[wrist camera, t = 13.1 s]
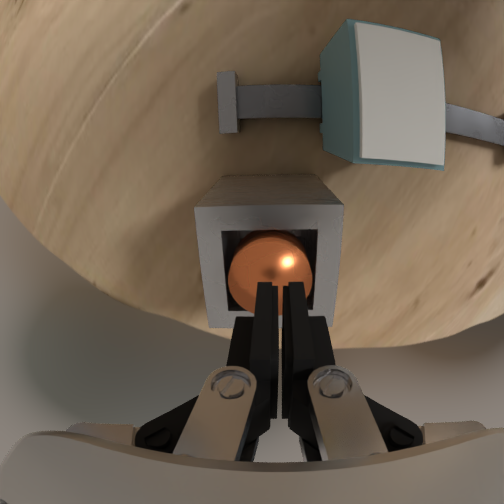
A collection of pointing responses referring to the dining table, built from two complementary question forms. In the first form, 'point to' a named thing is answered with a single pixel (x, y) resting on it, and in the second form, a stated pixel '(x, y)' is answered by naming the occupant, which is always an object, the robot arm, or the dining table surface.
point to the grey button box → (268, 218)
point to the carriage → (383, 96)
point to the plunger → (267, 265)
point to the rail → (310, 106)
